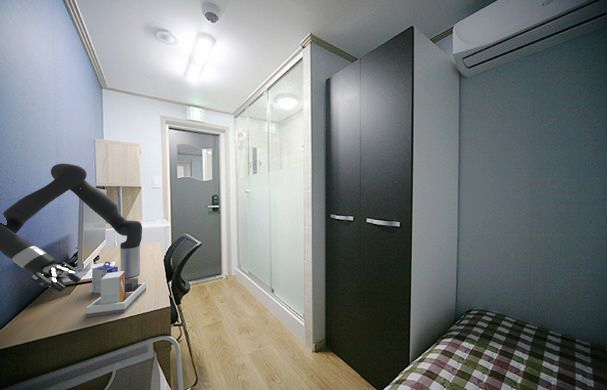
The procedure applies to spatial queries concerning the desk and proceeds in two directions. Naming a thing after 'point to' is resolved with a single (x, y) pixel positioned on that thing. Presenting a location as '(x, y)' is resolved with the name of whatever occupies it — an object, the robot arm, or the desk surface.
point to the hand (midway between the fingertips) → (71, 285)
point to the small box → (113, 288)
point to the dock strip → (131, 295)
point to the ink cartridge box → (101, 275)
